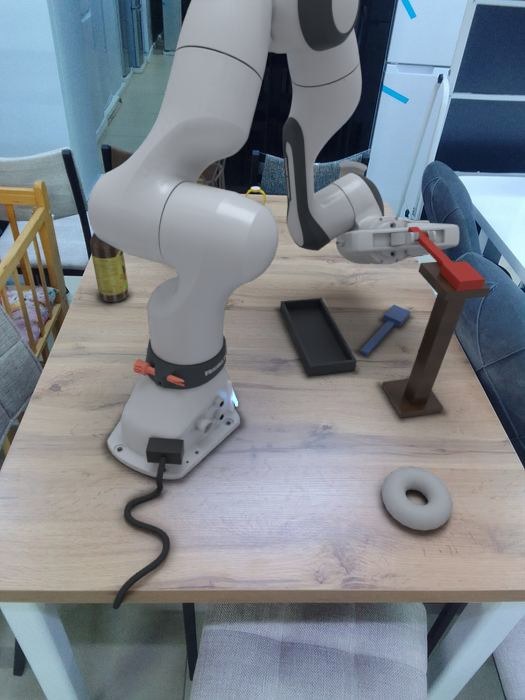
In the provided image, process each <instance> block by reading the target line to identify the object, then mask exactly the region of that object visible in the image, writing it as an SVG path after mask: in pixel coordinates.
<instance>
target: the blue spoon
mask: <svg viewBox="0 0 525 700" xmlns="http://www.w3.org/2000/svg"><path fill="white" fill-rule="evenodd" d="M410 316H411V311H410V310H408V309H407V308H404V307H401V306H398V305H396V304H393V305H392V306H391V307H390V308H389V309H388V310H387V311H386V312H385V313H384V315H383V318H382V321H383V322H385V323H383V325H382V326H381V327H380V328H379V329H378V330H377V332H376V333H374V334H373V336H372V337H371V338H370V339H369V340H368V341H367V342H366V343H365V344H364V346H363V347H361V348H360V350H359V354H361V355H364V356H365V357H367V356H369V355H370V353H371V352H372V351H373V350H374V349H375V348H376V347H377V346H378V344H379V343H380V342H381V341H383V339H384V338H385V337H386V335H388V333H389V332H390V331H391V330H393V328H394V327H397V328H401V327H402V326H403V325H404V324H405V322H406V321H407V320H408V319H409V318H410Z"/></svg>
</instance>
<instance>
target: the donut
mask: <svg viewBox="0 0 525 700" xmlns="http://www.w3.org/2000/svg"><path fill="white" fill-rule="evenodd" d="M411 490H412V491H416V492H420V493H421V494H422V495H423V496H424V497H425V498H426V500H427V503H426V504H424V505H421V504H416V503H415V502H413V501H411V500H410V499H409V498H408V496H407V494H406V493H407V491H411ZM381 495H382V496H381V497H382V498H381V499H382V502H383V503H384V506H385V509H386V511H387V512H388V513H389V514H390V515H391V516H392V518H393V519H395V521H397V522H398V523H400V524H401V525H402V526H405V527H406V528H410V529H412V530H418V531H431V530H436V529H438V528H440V527H441V526H444V524H445V523H446V522H447V521H448V520H449V518H450V517H451V515H452V509H453V500H452V499H453V498H452V494H451V492H450V490H449V488H448V486H447V484H445V483H444V482H443V481H442V480H441V478H440V477H438V475H435V473H433V472H431V471H430V470H426V469H424V468H422V467H416V466H404V467H399V468H397V469H395V470H393V471H391V472H390V473H389V474H388V475H387V476H386V477H385V479H384V482H383V485H382V488H381Z"/></svg>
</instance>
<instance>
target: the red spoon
mask: <svg viewBox="0 0 525 700" xmlns="http://www.w3.org/2000/svg"><path fill="white" fill-rule="evenodd" d="M408 232H419V244H420V245H421V246H422V247H423V248H424V249H425V250H426V251H427V252H428V253H429V254H428V255H430V257H432V259H434V261H435V262H438V263H439V264H440V265H441V269H440V274H441V275H442V276H443V277H444V278H445V279H446V280H447V281H448V282H449V283H450V284H451V286H452V287H453V288H454V289H455V290H456V291H463V290H473V289H482V286H483V284H484V282H485V281H486V278H485V277H483V275H482V274H480V272H478V270H476V269H475V268H474V267H473V266H472V265H471V264H470V263H469V262H468V261H463V262H452V261H453V260H451V259H450V258H449V256H447V254H445V253H444V251H443V250H440V249H439V248H438V247H437V246H436V245H435V244H434V243H433V242H432V241H431V240H430V239H429V238H428V237H427V236H426V235H425V234H424V233H423V232H422V231H421V230H420V229H419V228H418V227H409V229H408Z"/></svg>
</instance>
